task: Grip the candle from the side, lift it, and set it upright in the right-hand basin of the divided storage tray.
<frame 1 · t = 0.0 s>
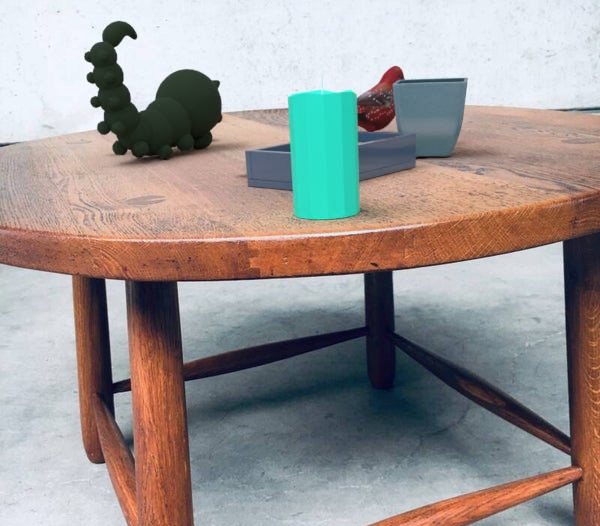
toy figurine: (170, 156, 128), on the table
candle: (327, 215, 82), on the table
decorative bird figurine: (369, 145, 128), on the table
divided storage tray: (334, 176, 102), on the table
flower pot: (430, 156, 113), on the table
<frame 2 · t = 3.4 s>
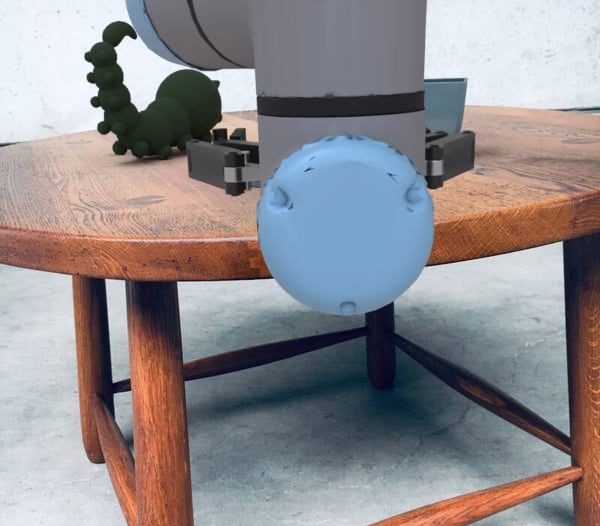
hand: (328, 143, 71), 7 cm above the table, tool horizontal, fingers open, 13 cm apart
nothing on the table moved.
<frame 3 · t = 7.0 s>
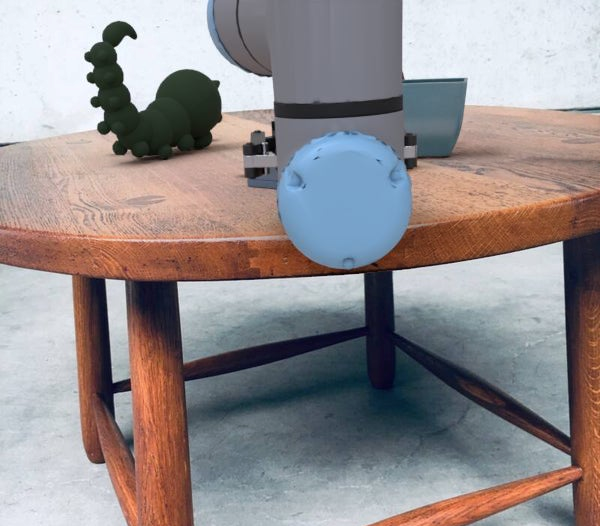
hand: (322, 132, 84), 7 cm above the table, tool horizontal, fingers closed on candle, 5 cm apart
candle: (325, 214, 82), on the table, touching gripper
everything else where it was.
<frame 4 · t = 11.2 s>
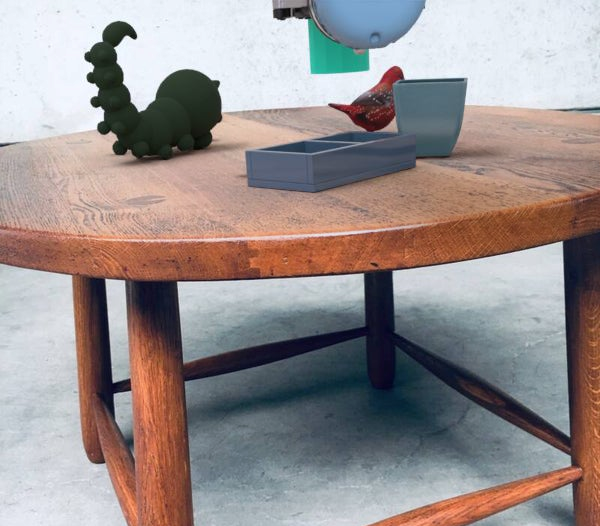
hand: (336, 3, 94), 18 cm above the table, tool horizontal, fingers closed on candle, 5 cm apart
candle: (340, 73, 91), point 11 cm above the table, touching gripper
everything else where it was.
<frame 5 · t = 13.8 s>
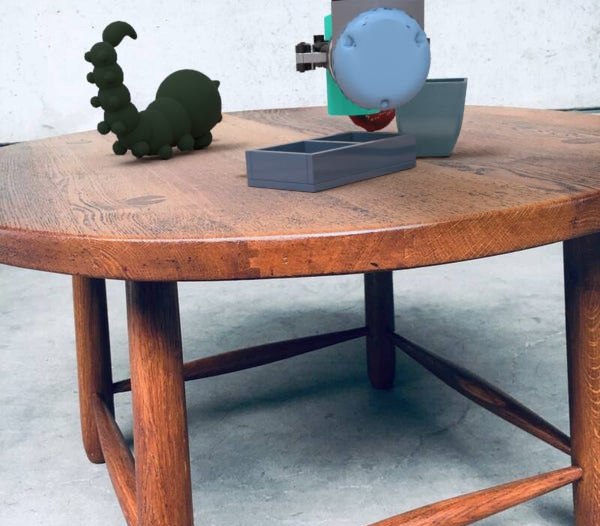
hand: (351, 50, 105), 13 cm above the table, tool horizontal, fingers closed on candle, 5 cm apart
candle: (354, 114, 102), point 6 cm above the table, touching gripper
everything else where it was.
when the fingers open (7 cm above the table, at t = 15.7 s): candle stays where it is, resting on divided storage tray.
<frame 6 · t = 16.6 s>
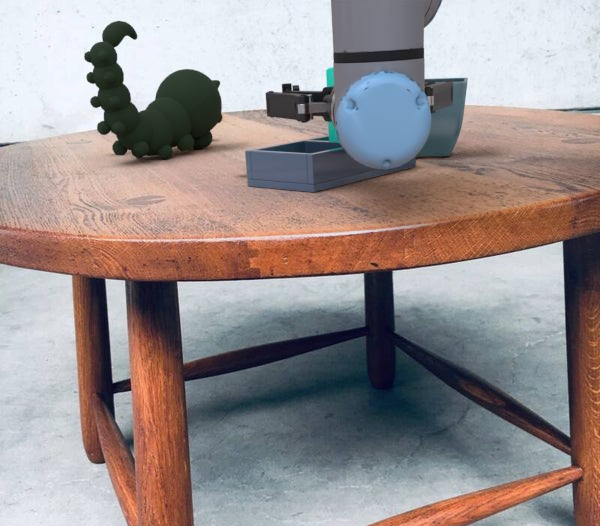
hand: (354, 93, 105), 8 cm above the table, tool horizontal, fingers open, 13 cm apart
candle: (355, 163, 104), point 1 cm above the table, touching divided storage tray
everything else where it was.
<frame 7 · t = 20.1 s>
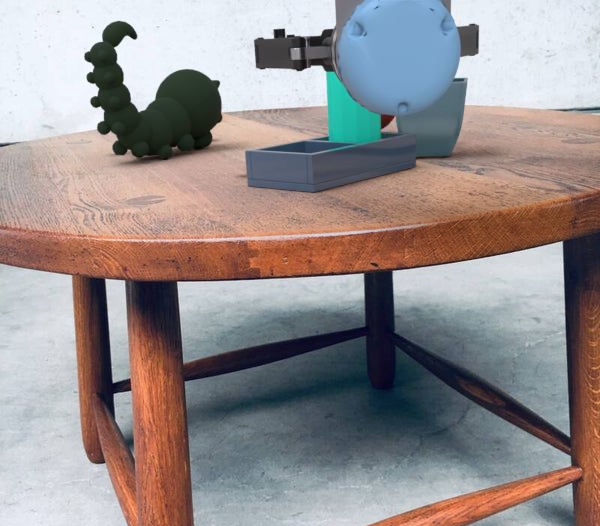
hand: (360, 45, 89), 14 cm above the table, tool horizontal, fingers open, 13 cm apart
nothing on the table moved.
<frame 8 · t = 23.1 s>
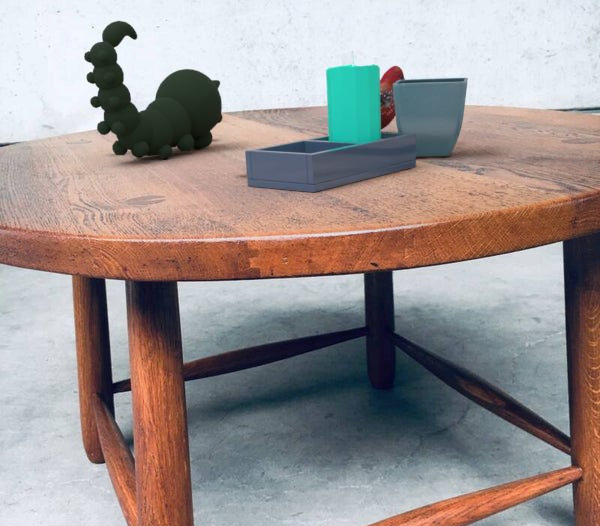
nothing on the table moved.
at the end: candle 0.2 cm from the target spot in the divided storage tray, point 0.8 cm above the divided storage tray's base; candle tilted 0°; the gripper is holding nothing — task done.
